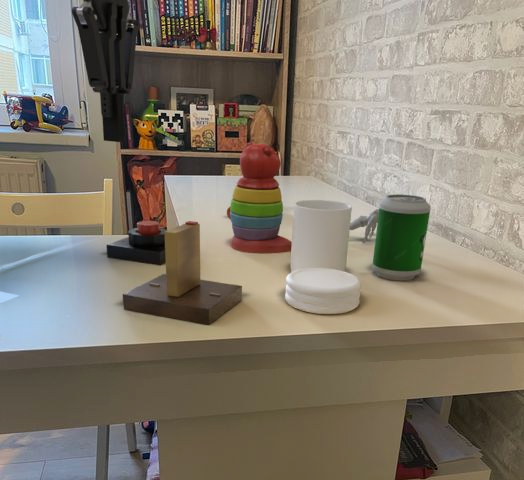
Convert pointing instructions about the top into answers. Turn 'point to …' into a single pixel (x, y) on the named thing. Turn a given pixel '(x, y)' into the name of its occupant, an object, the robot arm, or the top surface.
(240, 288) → the plate
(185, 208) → the top surface
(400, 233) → the soda can
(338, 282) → the coaster
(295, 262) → the mug
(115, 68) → the robot arm
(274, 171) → the stacking bear
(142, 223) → the release button
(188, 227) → the lock turn
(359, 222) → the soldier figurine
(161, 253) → the release box
